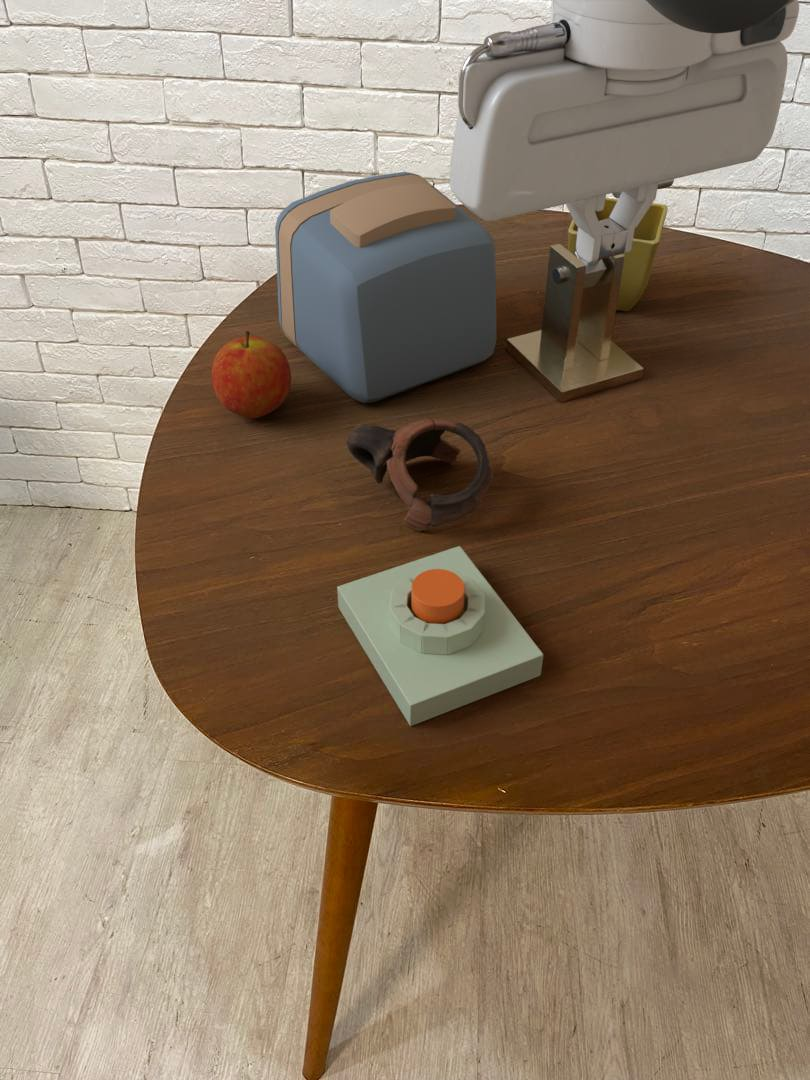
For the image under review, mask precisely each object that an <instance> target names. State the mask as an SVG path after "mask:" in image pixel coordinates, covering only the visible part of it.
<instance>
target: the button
mask: <svg viewBox="0 0 810 1080" xmlns="http://www.w3.org/2000/svg"><path fill="white" fill-rule="evenodd" d="M464 595H465V586H464V583H463V581H462V579H461V578H460V577H459V576H458V575H456V574H455V573H453V572H451V571H448V570H443V569H432V570H427V571H425V572H422V573H421V574H419V575H418V576H417V577H416V578H415V579H414V581H413V583H412V590H411V606H412V610H413V612H414V614H415V615H416V616H417V617H418V618H420V619H421V620H423V621H425V622H428V623H432V624H445V623H449V622H451V621H453V620H455V619H457V618H458V617H459V616H460V615H461V613H462V611H463V609H464Z"/></svg>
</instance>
